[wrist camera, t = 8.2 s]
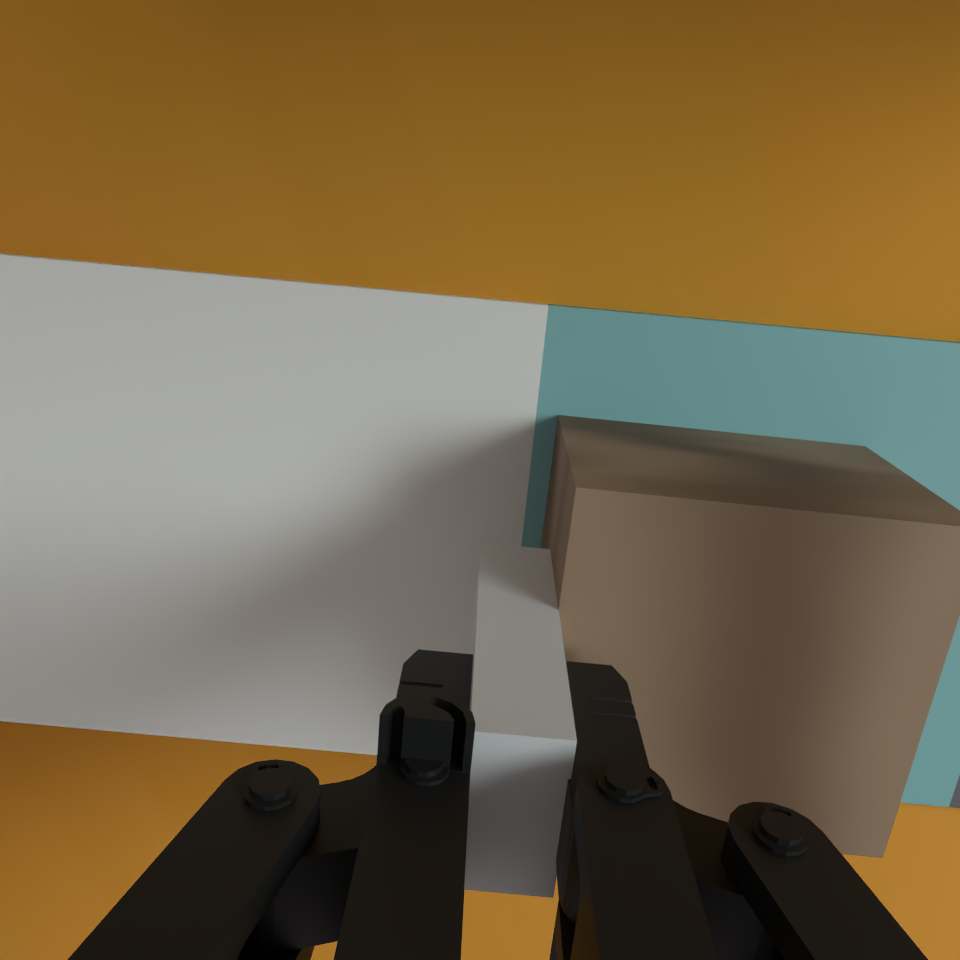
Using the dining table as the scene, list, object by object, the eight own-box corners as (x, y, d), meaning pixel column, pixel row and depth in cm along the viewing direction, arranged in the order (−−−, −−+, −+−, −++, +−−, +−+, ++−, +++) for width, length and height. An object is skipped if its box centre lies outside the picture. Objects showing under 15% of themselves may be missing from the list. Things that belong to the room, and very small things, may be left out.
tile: (-96, 698, 22) (-111, 710, 22) (-168, 235, 18) (-189, 236, 18) (496, 751, 22) (496, 765, 22) (547, 302, 19) (548, 305, 18)
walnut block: (522, 682, 21) (527, 822, 16) (557, 414, 19) (575, 487, 14) (796, 709, 21) (882, 858, 16) (865, 446, 19) (987, 528, 14)
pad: (496, 751, 22) (496, 765, 22) (547, 302, 19) (548, 305, 18) (937, 791, 22) (949, 806, 22) (1079, 351, 19) (1098, 356, 18)
